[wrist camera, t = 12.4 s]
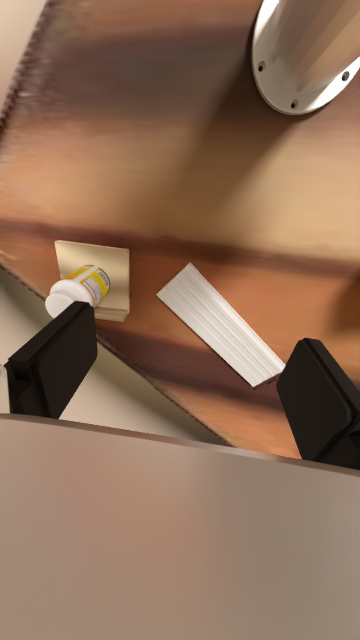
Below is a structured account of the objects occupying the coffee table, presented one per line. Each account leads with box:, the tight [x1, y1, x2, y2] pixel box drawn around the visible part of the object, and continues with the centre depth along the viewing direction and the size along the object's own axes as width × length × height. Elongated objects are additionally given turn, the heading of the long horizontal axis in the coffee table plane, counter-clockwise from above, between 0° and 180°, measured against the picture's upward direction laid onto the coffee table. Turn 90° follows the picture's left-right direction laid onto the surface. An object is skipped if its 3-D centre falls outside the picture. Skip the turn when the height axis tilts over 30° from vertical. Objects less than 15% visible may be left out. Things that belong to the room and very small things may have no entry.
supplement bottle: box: [45, 265, 111, 318], centre depth 31 cm, size 6×6×10 cm
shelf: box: [55, 240, 131, 322], centre depth 37 cm, size 11×11×7 cm
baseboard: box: [156, 263, 286, 390], centre depth 43 cm, size 30×3×10 cm
